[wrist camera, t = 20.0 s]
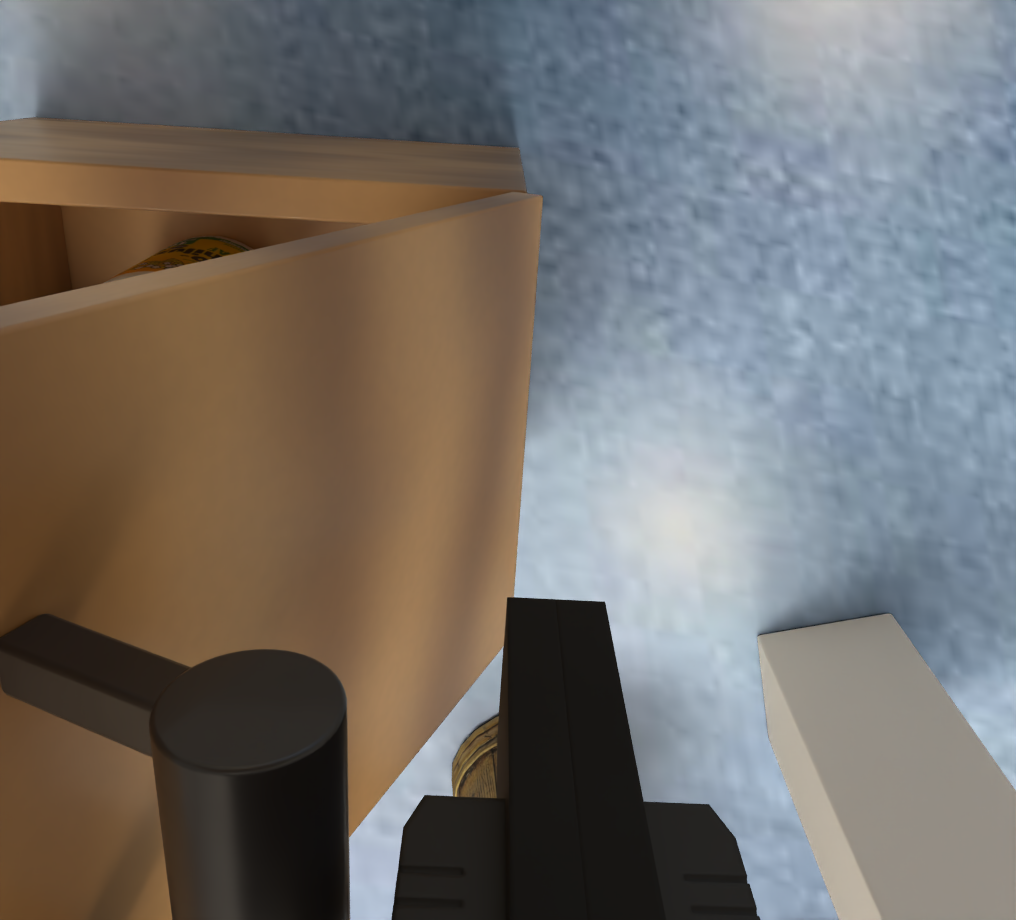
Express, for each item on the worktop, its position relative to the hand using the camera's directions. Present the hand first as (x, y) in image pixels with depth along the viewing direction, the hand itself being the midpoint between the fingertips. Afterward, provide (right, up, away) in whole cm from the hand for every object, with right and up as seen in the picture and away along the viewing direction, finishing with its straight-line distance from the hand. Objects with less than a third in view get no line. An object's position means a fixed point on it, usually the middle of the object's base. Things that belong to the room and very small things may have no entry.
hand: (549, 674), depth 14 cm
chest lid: (-5, +1, +2) cm, 5 cm away
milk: (+14, -6, +27) cm, 31 cm away
